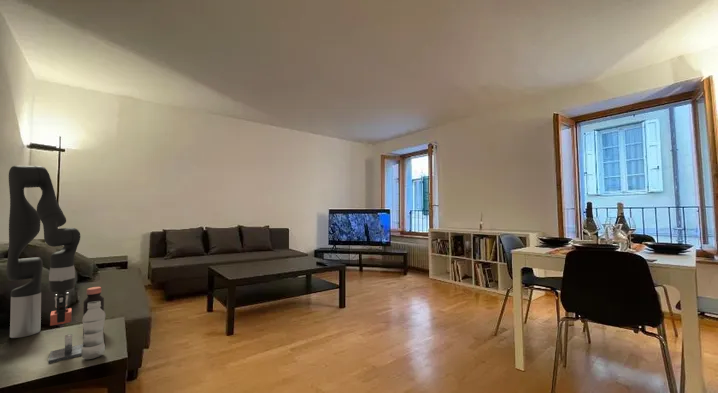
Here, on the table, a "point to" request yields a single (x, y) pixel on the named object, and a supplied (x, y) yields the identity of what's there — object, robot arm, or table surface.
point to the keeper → (66, 351)
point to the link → (54, 317)
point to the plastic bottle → (93, 331)
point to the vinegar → (93, 299)
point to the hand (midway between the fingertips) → (61, 319)
